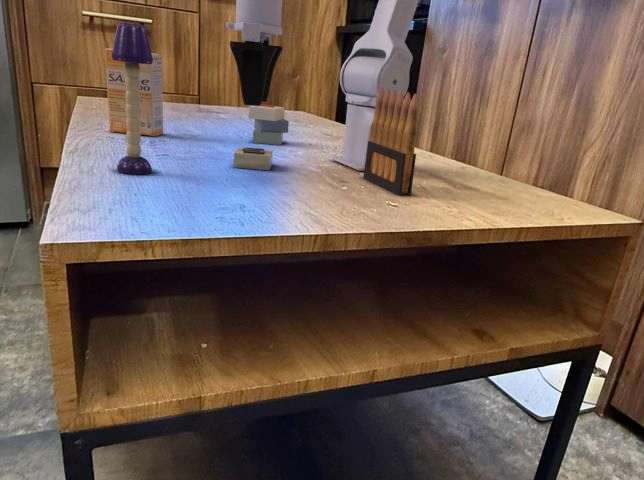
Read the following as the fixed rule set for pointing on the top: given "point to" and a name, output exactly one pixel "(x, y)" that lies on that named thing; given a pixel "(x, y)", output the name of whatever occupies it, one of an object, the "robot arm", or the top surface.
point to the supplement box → (148, 93)
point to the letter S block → (253, 158)
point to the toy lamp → (132, 90)
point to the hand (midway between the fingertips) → (255, 103)
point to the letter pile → (268, 124)
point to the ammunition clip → (392, 142)
